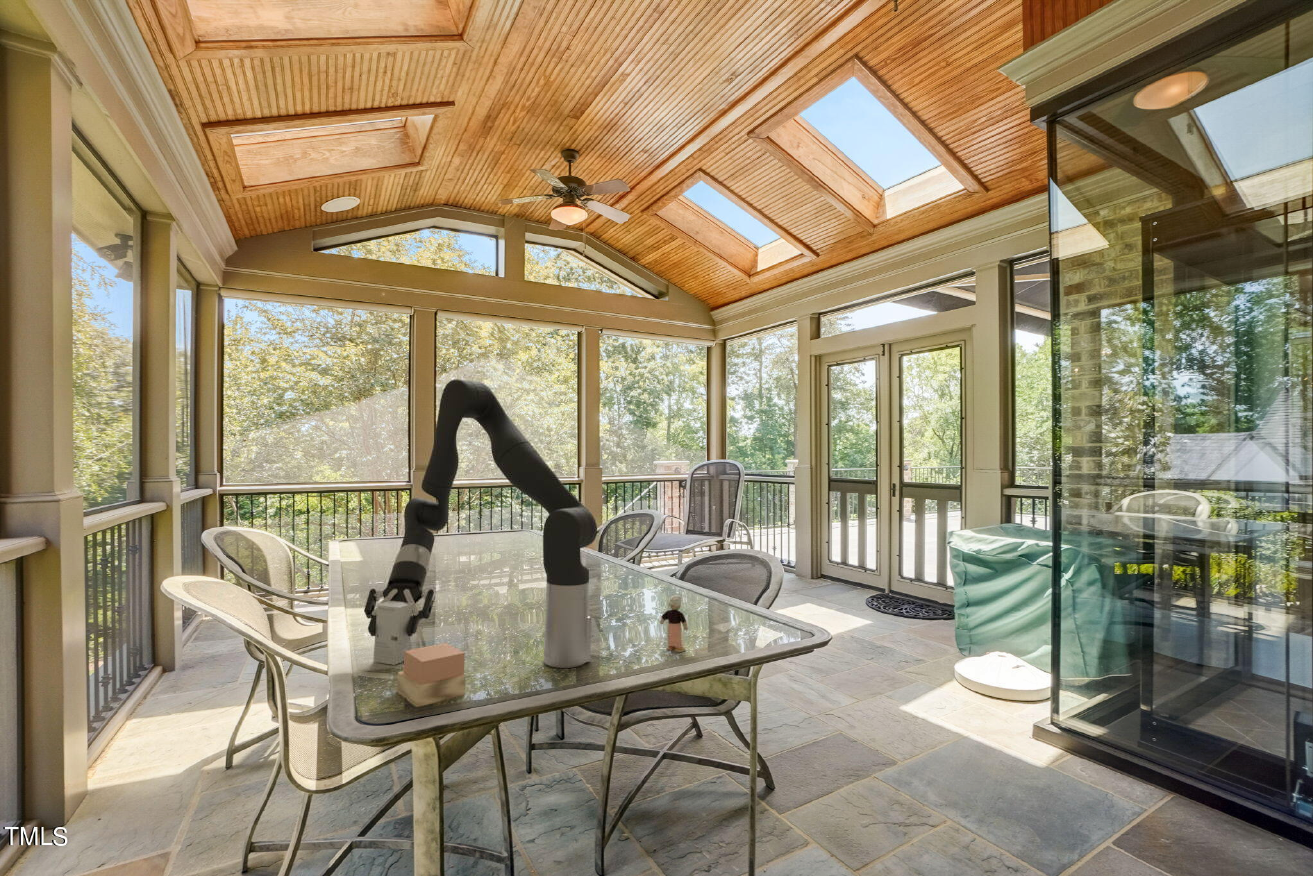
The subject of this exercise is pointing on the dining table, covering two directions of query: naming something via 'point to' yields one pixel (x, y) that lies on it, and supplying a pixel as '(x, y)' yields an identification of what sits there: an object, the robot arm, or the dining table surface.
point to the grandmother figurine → (674, 624)
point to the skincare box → (392, 632)
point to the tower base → (430, 689)
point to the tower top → (433, 663)
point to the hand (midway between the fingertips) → (390, 634)
